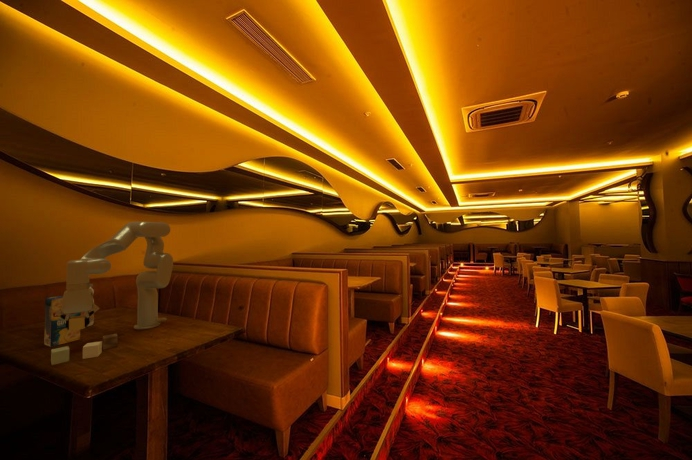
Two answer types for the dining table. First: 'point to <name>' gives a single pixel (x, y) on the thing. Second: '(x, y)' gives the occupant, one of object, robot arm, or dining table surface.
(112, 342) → the walnut cube
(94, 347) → the cream cube
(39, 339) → the dining table surface
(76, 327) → the ochre cube
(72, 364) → the dining table surface
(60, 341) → the blue cardboard box
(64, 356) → the sage cube
